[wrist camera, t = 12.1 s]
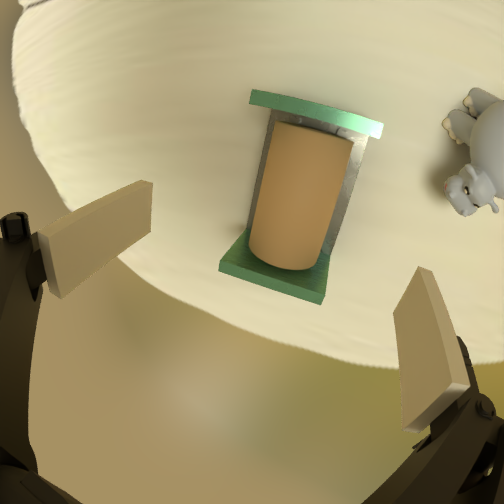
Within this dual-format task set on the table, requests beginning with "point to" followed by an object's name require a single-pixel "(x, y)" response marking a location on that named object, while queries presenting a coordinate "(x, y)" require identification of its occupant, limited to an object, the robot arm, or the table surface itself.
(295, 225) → the cylinder
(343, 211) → the holder
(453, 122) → the hippopotamus toy
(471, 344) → the table surface
